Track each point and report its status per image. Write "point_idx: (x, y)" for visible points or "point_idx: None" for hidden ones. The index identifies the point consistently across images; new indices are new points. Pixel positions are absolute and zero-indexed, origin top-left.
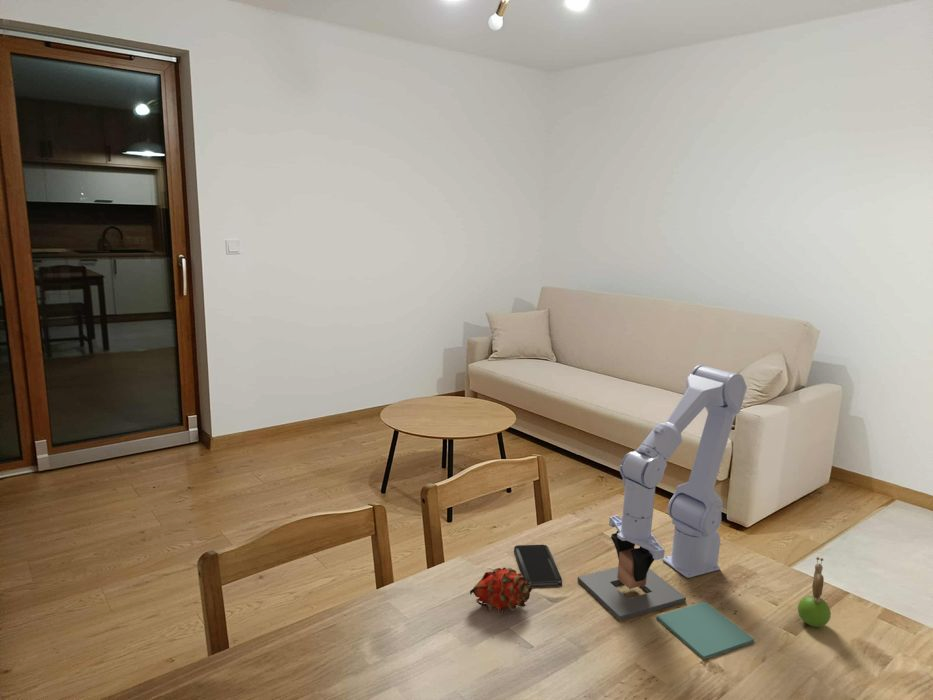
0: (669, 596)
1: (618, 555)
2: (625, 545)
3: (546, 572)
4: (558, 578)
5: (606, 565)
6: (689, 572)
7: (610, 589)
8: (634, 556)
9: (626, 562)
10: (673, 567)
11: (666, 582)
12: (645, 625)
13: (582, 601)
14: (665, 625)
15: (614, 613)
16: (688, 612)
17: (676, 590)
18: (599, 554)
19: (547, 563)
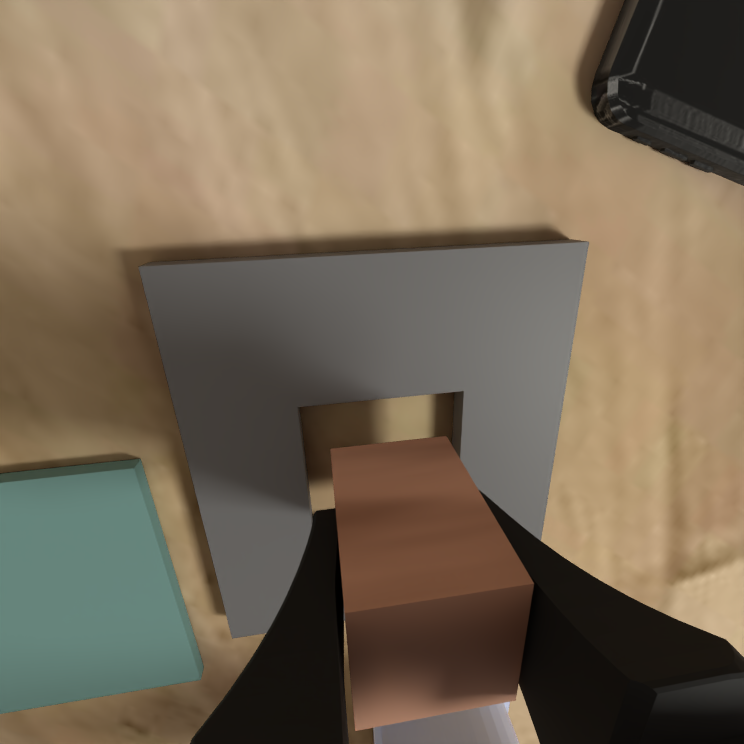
0: (255, 586)
1: (532, 545)
2: (557, 676)
3: (740, 65)
4: (646, 110)
5: (595, 453)
6: None
7: (402, 359)
8: (283, 713)
9: (412, 558)
10: None
11: None
12: (90, 380)
13: (395, 145)
14: (65, 469)
15: (203, 261)
16: (135, 601)
17: None
18: (675, 465)
19: None
